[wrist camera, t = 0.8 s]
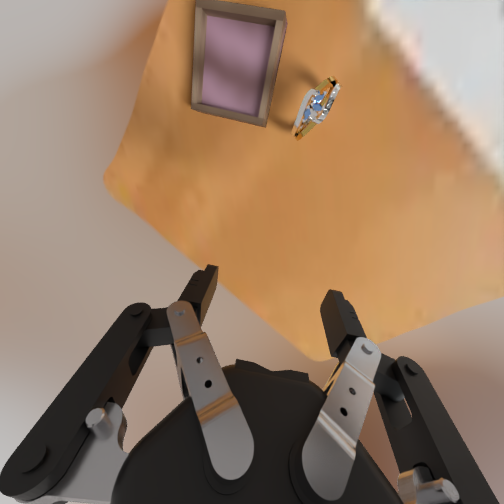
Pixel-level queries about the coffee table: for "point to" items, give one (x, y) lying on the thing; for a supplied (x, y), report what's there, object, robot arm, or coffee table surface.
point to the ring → (315, 107)
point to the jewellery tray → (236, 59)
